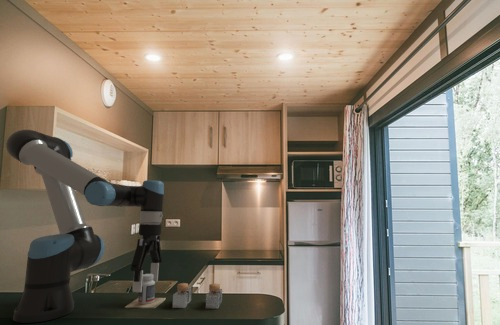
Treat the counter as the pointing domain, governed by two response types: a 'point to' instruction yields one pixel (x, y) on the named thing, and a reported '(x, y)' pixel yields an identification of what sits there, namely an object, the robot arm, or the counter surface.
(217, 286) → the plunger
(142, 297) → the pill bottle
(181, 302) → the set of grey blocks
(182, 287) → the plunger
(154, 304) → the coaster
